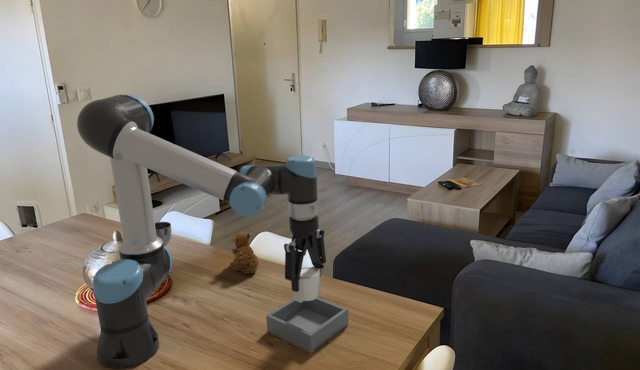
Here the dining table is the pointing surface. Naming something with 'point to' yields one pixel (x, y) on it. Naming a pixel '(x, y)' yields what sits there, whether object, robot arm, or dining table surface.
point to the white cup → (309, 283)
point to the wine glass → (163, 232)
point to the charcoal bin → (307, 322)
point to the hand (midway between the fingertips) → (307, 294)
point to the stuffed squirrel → (244, 254)
